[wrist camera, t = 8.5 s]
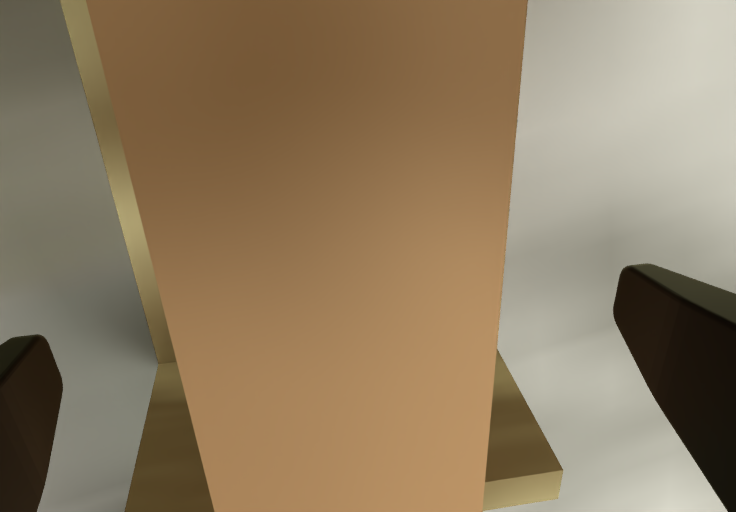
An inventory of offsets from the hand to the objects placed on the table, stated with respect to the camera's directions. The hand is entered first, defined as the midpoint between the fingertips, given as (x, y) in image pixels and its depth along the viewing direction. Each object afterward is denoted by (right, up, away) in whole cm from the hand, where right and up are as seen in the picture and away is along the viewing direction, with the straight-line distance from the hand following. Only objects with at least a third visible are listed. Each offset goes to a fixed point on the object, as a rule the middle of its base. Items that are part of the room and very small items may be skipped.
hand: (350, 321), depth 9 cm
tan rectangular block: (-1, +2, +5) cm, 5 cm away
